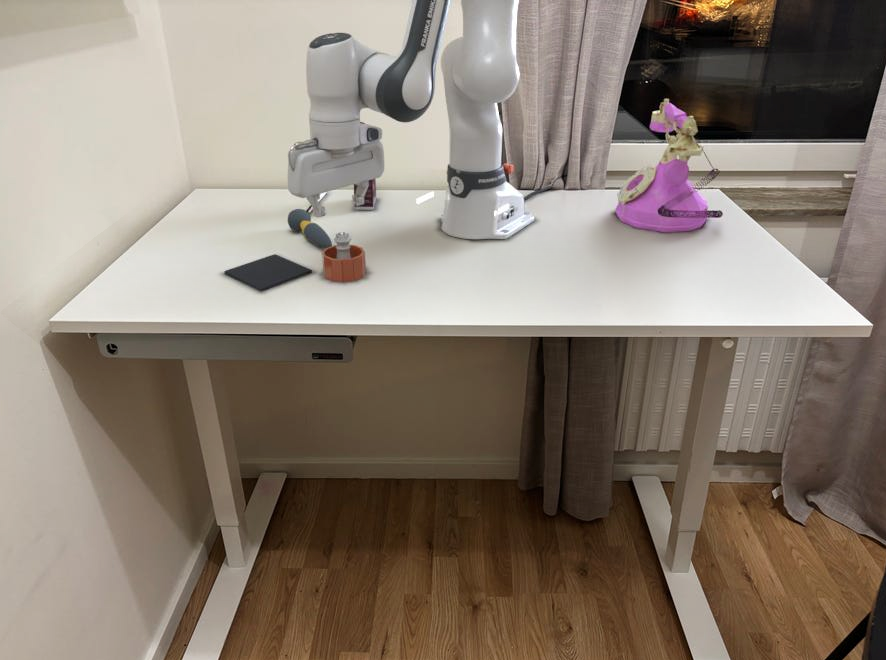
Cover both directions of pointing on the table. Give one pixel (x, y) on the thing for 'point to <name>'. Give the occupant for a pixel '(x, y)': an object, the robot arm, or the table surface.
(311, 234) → the paintbrush
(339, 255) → the rook chess piece
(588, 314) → the table surface
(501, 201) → the robot arm
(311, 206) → the pen
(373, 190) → the supplement box
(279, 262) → the pad
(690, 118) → the telephone
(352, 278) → the brown hollow cylinder
